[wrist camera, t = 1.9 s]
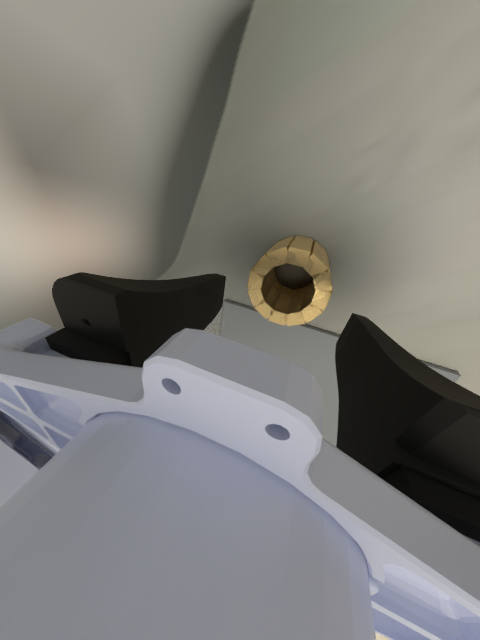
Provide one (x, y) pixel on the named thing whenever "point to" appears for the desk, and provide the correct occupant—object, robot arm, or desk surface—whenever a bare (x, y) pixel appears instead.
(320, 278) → the wooden link ring
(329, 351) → the grey square plate
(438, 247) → the desk surface
